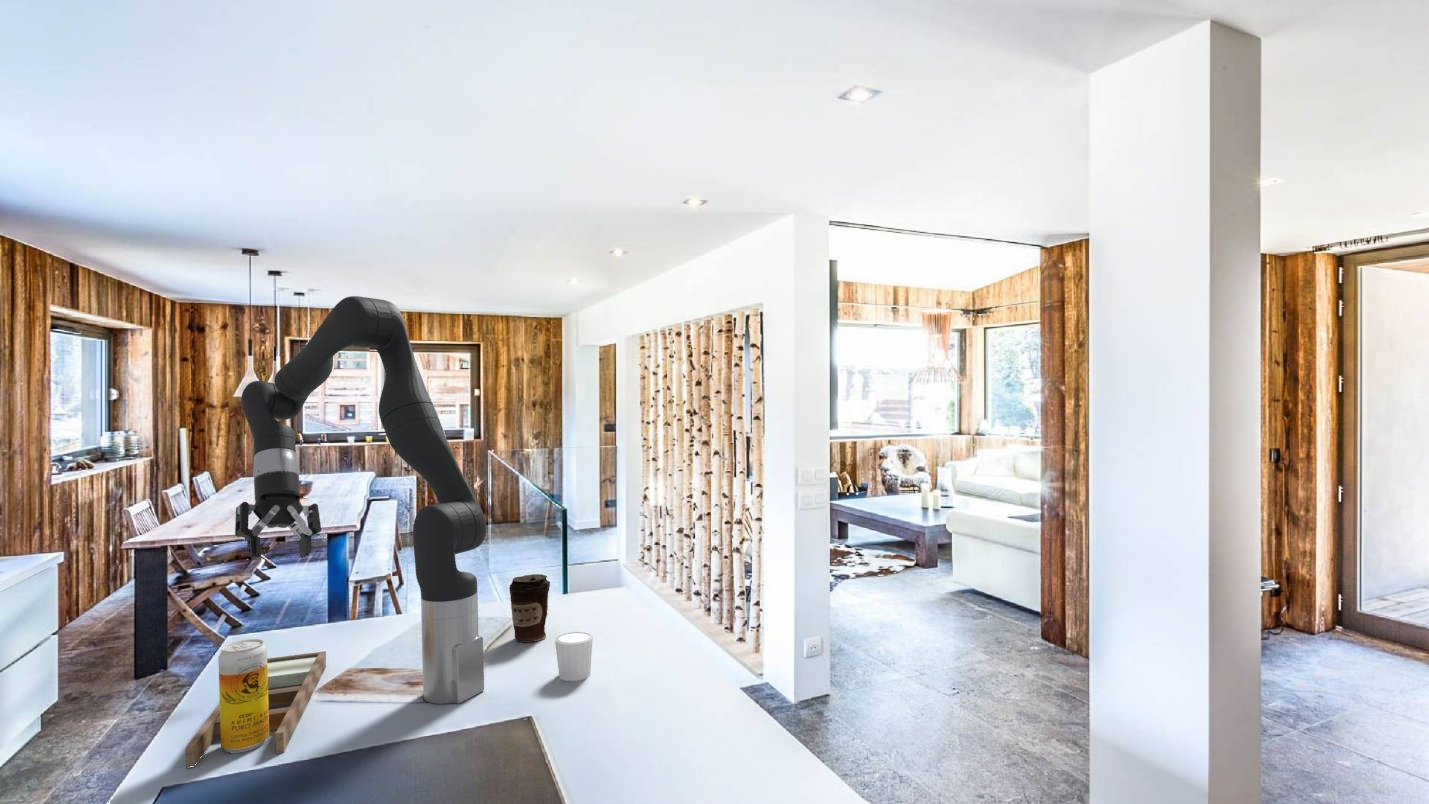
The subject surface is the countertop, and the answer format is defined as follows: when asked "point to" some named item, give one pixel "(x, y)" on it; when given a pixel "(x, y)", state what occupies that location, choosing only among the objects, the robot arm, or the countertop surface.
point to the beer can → (243, 695)
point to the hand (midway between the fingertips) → (281, 557)
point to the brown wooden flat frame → (273, 701)
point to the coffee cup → (529, 606)
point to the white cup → (574, 655)
